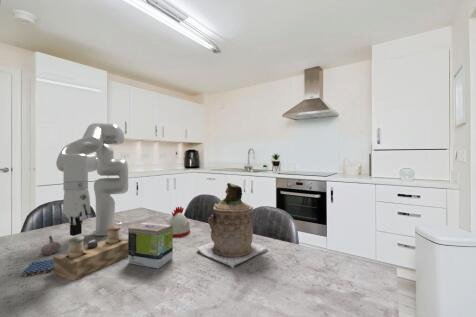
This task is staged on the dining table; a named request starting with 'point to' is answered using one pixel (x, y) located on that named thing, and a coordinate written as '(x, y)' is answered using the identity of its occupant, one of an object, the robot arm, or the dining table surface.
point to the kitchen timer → (179, 223)
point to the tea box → (150, 244)
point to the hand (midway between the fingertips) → (75, 234)
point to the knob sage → (75, 247)
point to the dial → (92, 244)
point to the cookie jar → (231, 230)
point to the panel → (90, 259)
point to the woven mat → (39, 268)
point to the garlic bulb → (50, 247)
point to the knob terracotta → (113, 235)
